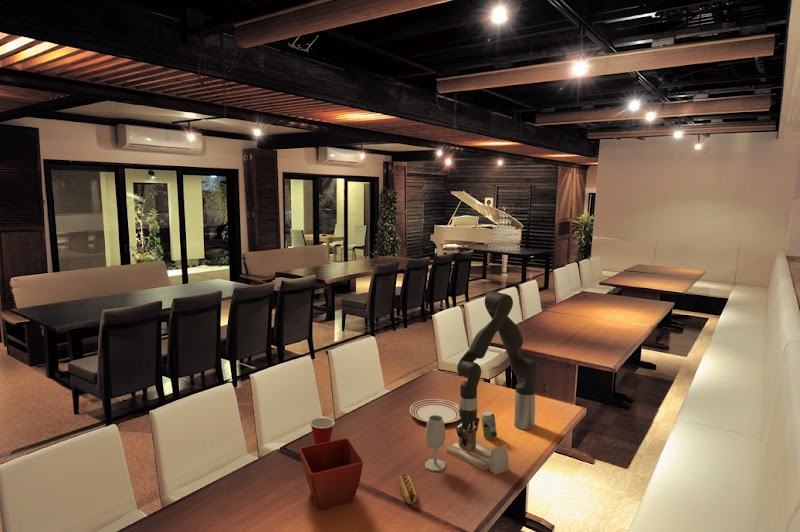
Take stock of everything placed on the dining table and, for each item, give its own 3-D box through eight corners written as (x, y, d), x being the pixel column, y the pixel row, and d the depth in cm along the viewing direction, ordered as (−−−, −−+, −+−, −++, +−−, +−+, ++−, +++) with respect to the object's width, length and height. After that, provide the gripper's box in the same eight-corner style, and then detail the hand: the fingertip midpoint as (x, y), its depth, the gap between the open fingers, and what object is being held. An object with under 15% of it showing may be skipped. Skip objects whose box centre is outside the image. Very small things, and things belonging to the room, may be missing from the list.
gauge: (461, 442, 217) (462, 425, 216) (475, 448, 211) (476, 430, 210) (456, 445, 214) (456, 427, 213) (470, 451, 209) (470, 434, 207)
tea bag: (508, 470, 199) (509, 447, 197) (494, 474, 196) (495, 451, 194) (502, 466, 202) (503, 443, 201) (489, 470, 199) (489, 447, 198)
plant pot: (312, 519, 169) (310, 473, 166) (300, 489, 186) (298, 447, 184) (364, 505, 176) (364, 461, 174) (348, 477, 194) (347, 437, 191)
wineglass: (448, 462, 204) (448, 415, 201) (442, 473, 196) (443, 424, 193) (427, 459, 207) (428, 412, 204) (421, 470, 199) (422, 421, 196)
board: (466, 441, 223) (466, 436, 222) (504, 457, 208) (504, 453, 208) (446, 452, 213) (446, 447, 213) (484, 470, 199) (484, 465, 198)
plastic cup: (340, 446, 217) (339, 421, 215) (320, 456, 209) (320, 429, 208) (324, 438, 225) (324, 413, 223) (305, 447, 217) (304, 421, 215)
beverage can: (496, 441, 222) (497, 416, 220) (480, 439, 224) (481, 415, 222) (496, 435, 228) (497, 410, 227) (480, 433, 230) (481, 409, 228)
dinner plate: (472, 412, 253) (472, 406, 252) (448, 433, 230) (448, 427, 229) (426, 400, 267) (426, 394, 267) (399, 419, 244) (399, 413, 244)
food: (419, 505, 177) (419, 492, 176) (404, 507, 176) (404, 494, 175) (410, 483, 190) (410, 471, 189) (396, 485, 189) (396, 472, 188)
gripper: (471, 398, 217) (470, 435, 219) (450, 408, 207) (450, 446, 210) (485, 404, 212) (484, 441, 214) (464, 414, 202) (463, 453, 204)
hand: (467, 443), depth 212 cm, fingers closed on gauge, 4 cm apart
